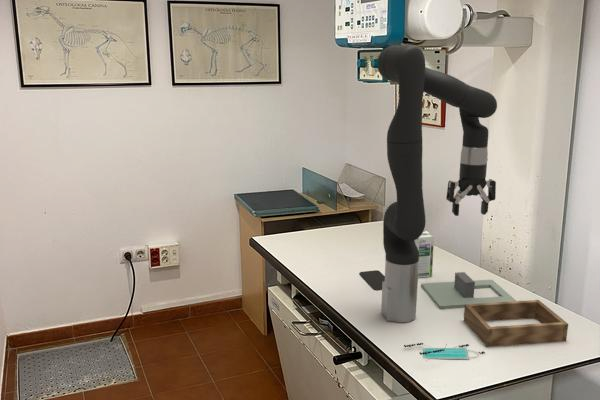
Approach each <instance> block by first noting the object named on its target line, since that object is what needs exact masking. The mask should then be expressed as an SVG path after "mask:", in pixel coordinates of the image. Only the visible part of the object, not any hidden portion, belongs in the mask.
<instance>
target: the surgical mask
mask: <svg viewBox="0 0 600 400" xmlns="http://www.w3.org/2000/svg"><path fill="white" fill-rule="evenodd" d="M421 345H422V346H426V347H423V348H421V349H419V348H418V349H415V350H414V352H416V351H419V355H420V356H421V355H422V359H426V360H425V362H427V361H428V360H442V361H443V360H447V361H454V360H456V361H458V360H470V358H471V356H469V353H468V352H474V353H476V354H477V356H472V358H478V357H479V354H480V355H481V354H482V355H483V354H486V352H485V351H484V350H482V351H475V350H473V349H472V350H471V349H468V347H469V346H470V345H469V344H468V343H467V344H461V345H458V347H456V346H455V347H447V346H448V345H447V343H446V344H445V347H427V345H426V344H424V342H418V343H413V344H403V347H404V348H411V347H414V346H421ZM421 351H422V352H421Z"/></svg>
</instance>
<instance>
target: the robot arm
mask: <svg viewBox="0 0 600 400" xmlns="http://www.w3.org/2000/svg"><path fill="white" fill-rule="evenodd" d="M377 69H378V72H379V74H380V76H381V77H382V78H383V79H385V80H386V81H389V82H392V83H397V84H398V103H397V108H396V110H395V113H394V114H393V117H392V120H391V122H390V124H389V125H388V129H387V133H386V156H387V163H388V166H389V170H390V173H391V176H392V179H393V180H392V181H393V183H394V185H395V192H396V201H395V202H393V203H391V204H390V205H388V207H387V208H386V210H385V212H384V216H383V224H382V227H383V229H382V231H383V234H382V235H383V238H382V241H383V243H382V244H383V250H384V252H385V253H384V254H385V266H384V276H385V281H383V282H382V290H381V307H380V308H381V309H380V311H381V313H382V315H383V317H384V318H385V319H384V320H386V322H387V321H388V322H395V323H408V322H409V323H410V322H412V321H414V320H415V319H416V316H417V302H418V301H417V298H418V284H419V283H418V281H419V280H418V279H419V278H418V266H419V251H418V248H417V247H416V244H415V241H414V240H416V239H418V238H419V237H420V236H421V234H422V233H423V232H425V231H424V230H425V228H426V223H427V222H426V212H425V204H424V193H423V101H424V99H423V98H424V93H425V94H428V95H430V96H432V97H434V98H435V99H438V100H440V101H442V102H444V103H446V104H447V105H449V106H451V107H454V108H458V111H459V117H460V122H461V126H462V132H463V133H462V146H461V152H460V161H459V178H458V181H453V180H449V181H448V183H447V190H446V198H445V199H446V201H448V202H450V203H452V206H451V212H452V214H453V215H454V216H455V217H459V216H460V215H459V214H460V204H459V203H460V202H461V201H462V200H463V199H464V198H465V197H466V196H467V197H471V196H476V197H477V196H479V197H480V199H481V200H482V201H481V203H480V204H481V206H480V214H481V215H485V216H486V214H488V212H489V205H490V204H489V203H490V202H491V201H495V200H496V191H497V189H496V188H497V182H496V180H493V179H490V178H489V179H488V180H486V178H487V167H488V160H489V158H488V144H489V143H488V142H489V127H487V126H485V125H483V124H482V123H481V122H480V119H481V118H482V119H487V118H490V117H492V116H493V115H494V114H495V113H496V111H497V109H498V102H497V99H496V97H495V96H494V95H493V94H492V93H490V92H489V91H487V90H483V89H481V88H477V87H475V86H471V85H469V84H467V83H466V82H464V81H462V80H460V78H459V79H458V78H456V77H455V76H453V75H451V74H447V73H445V72H441V71H438V70H435V69H432V68H429V67H426V59H425V55H424V52H423V51H422V48H420V47H419V46H417V45H413V44H410V45H408V44H407V45H403V44H402V45H401V44H400V45H397V44H396V45H390V46H388V47H386V48H384V49H382V50H381V52H380V53H379V55H378V57H377ZM457 187H458V190H457V191H456V193H455V190H456V189H457ZM485 187H487V189H488V190H487V194H488V195H487V194H486V192H485V190H484V188H485Z"/></svg>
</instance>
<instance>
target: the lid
mask: <svg viewBox="0 0 600 400" xmlns="http://www.w3.org/2000/svg"><path fill="white" fill-rule="evenodd" d="M420 287H421V288H422V289H423V291H424V292H425V294H427V296H428V297H429V298H430V300H431V301H432V302H433V303H434V304H435V306H437V308H438V309H439V310H448V309H465V304H479V303H496V302H512V301H517V300H516V299H515V298H514V297H513V296H512V295H511V294H510V293H508V291H506V290H505V289H504V288H503V287H502V286H500V285H499V284H498V283H497V282H496V281H495V280H494V279H478V280H477V279H476V280H474V279H472V278H471V277H470V276H469V275H468V274H467V273H466V272H465V271H461V272H460V271H459V272H455V273H454V281H444V282H423V283H420ZM487 288H488V289H491V290H492V292H494V293H495V294H496V295H498V296H488V297H475V289H487Z"/></svg>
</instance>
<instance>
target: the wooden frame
mask: <svg viewBox="0 0 600 400" xmlns="http://www.w3.org/2000/svg"><path fill="white" fill-rule="evenodd" d="M463 309H464V310H463V311H464V312H463V322H464V324H465V325H467V327H469V329H470V330H471V331H472V332H473V333H474V334H475V336H476V337H477V338H478V339H479V341H481V343H482V344H483V345H484V346H485V348H489V347H504V346H518V345H532V344H545V343H547V344H548V343H560V342H561V343H562V342H567V338H568V337H567V336H568V329H569V323H568V322H566V321H565V320H564V319H563V318H562V317H560V316H559V315H558V314H557V313H555V312H554V311H553V310H552V309H551V308H550V307H548V306H547V305H546V304H545V303H543V302H542V301H541V300H540V299H532V300H531V299H530V300H528V299H527V300H518V301H517V300H516V301H512V302H496V303H479V304H465V308H463ZM525 319H536V321H538V322H539V323H529V324H528V323H527V324H526V323H525V324H513V325H511V324H510V325H497V326H491V325H489V323H488V322H493V321H494V322H496V321H511V320H525Z"/></svg>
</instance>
